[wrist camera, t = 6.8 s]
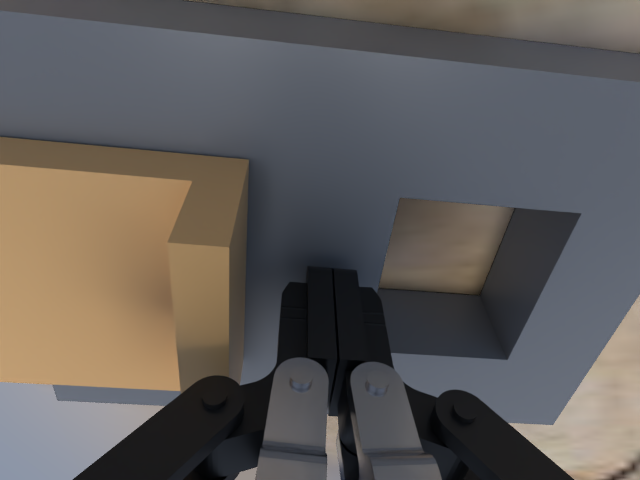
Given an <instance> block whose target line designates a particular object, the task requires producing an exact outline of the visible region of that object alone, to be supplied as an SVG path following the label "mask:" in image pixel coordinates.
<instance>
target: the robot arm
mask: <svg viewBox="0 0 640 480" xmlns="http://www.w3.org/2000/svg"><path fill="white" fill-rule="evenodd" d="M385 324H386V323H385V317H384V312H383V306H382V301H381V299H380V297H379V296H378V294H377V293H376V292H375V290H374V289H373V288H372V287H359V282H358V274H357V270H354V269H341V268H333V269H331V268H326V267H313V266H308V267H307V273H306V282H305V283H301V282H289V283H288V285H287V286H286V288H285V289H284V290H283V292H282V297H281V309H280V320H279V333H278V347H277V361H276V365H275V367H274V369H273V370H272V371H271V373H270V374H268V375H267V376H266V377H264V378H263V379H261V380H258V381H256V382H252V383H248V384H244V385H239V384H238V383H237V382H236V381H235V380H233V379H231V378H229V377H226V376H220V375H214V376H208V377H205V378H202V379H200V380H198V381H197V382H195V383H194V384H193V385H191V386H190V387H189V388H188V389H186V390H185V391H184V392H183V393H181V394H180V395H179V396H178V397H176V398H175V399H174V400H173V401H171V402H170V403H169V404H167V405H166V406H165V407H164V408H162V409H161V410H160V411H159V412H157V413H156V414H155V415H154V416H152V417H151V418H150V419H149V420H147V421H146V422H145V423H143V424H142V425H141V426H140V427H139V428H137V429H136V430H135V431H133V432H132V433H131V434H130V435H128V436H127V437H126V438H125V439H123V440H122V441H121V442H120V443H118V444H117V445H116V446H115V447H113V448H112V449H111V450H109V451H108V452H107V453H106V454H104V455H103V456H102V457H101V458H99V459H98V460H97V461H95V462H94V463H93V464H92V465H90V466H89V467H88V468H87V469H85V470H84V471H83V472H82V473H80V474H79V475H78V476H77V477H75V478H74V479H73V480H234V479H235V478H236V477H237V476H238V474H239V472H241V471H245V470H248V469H251V468H255V467H257V471H256V478H255V480H326V477H327V454H326V453H325V445H326V424H327V409H328V416H338V426H339V430H338V434H337V439H336V447H337V454H338V462H339V470H340V477H341V480H574V479H573V478H572V477H571V476H569V475H568V474H567V473H566V472H565V471H563V470H562V469H561V468H560V467H559V466H558V465H556V464H555V463H554V462H553V461H552V460H551V459H549V458H548V457H547V456H546V455H545V454H544V453H542V452H541V451H540V450H539V449H538V448H536V447H535V446H534V445H533V444H532V443H531V442H529V441H528V440H527V439H526V438H525V437H524V436H522V435H521V434H520V433H519V432H518V431H517V430H515V429H514V428H513V427H512V426H511V425H509V424H508V423H507V422H506V421H505V420H504V419H502V418H501V417H500V416H499V415H498V414H497V413H495V412H494V411H493V410H492V409H491V408H490V407H488V406H487V405H486V404H485V403H484V402H483V401H481V400H480V399H479V398H478V397H476V396H475V395H473V394H471V393H469V392H466V391H463V390H448V391H445V392H443V393H442V394H441V395H440V396H439V397H435V396H432V395H429V394H426V393H423V392H420V391H418V390H415V389H413V388H411V387H410V386H408V385H407V384H405V383H404V382H403V381H402V378H401V377H400V375H399V374H398V373H397V372H396V371H395V369H394V366H393V362H392V356H391V351H390V345H389V339H388V334H387V328H386V326H385Z"/></svg>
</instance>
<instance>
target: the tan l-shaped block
mask: <svg viewBox="0 0 640 480" xmlns="http://www.w3.org/2000/svg"><path fill="white" fill-rule="evenodd" d="M248 178H249V160H248V159H237V158H226V157H216V156H205V155H194V154H183V153H172V152H161V151H150V150H139V149H128V148H117V147H106V146H96V145H85V144H74V143H63V142H52V141H41V140H30V139H19V138H8V137H0V382H13V383H33V384H52V385H71V386H91V387H110V388H129V389H148V390H168V391H181V393H183V392H184V391H185V390H186V389H188V388H189V387H190V386H191V385H193V384H194V383H195V382H197V381H198V380H200V379H202V378H205V377H208V376H214V375H220V376H226V377H229V378H231V379H233V380H235V381H236V382H237V383H238V384H239V385H240V381H241V374H242V367H243V354H244V318H245V283H246V248H247V213H248Z"/></svg>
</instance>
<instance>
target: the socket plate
mask: <svg viewBox="0 0 640 480" xmlns="http://www.w3.org/2000/svg"><path fill="white" fill-rule="evenodd" d="M0 137H8V138H19V139H30V140H41V141H52V142H63V143H74V144H85V145H96V146H106V147H117V148H128V149H139V150H150V151H161V152H172V153H183V154H194V155H205V156H216V157H226V158H237V159H248V160H249V178H248V213H247V248H246V283H245V318H244V354H243V367H242V374H241V381H240V385H244V384H248V383H252V382H256V381H258V380H261V379H263V378H264V377H266V376H267V375H268V374H270V373H271V371H272V370H273V369H274V367H275V365H276V361H277V347H278V333H279V320H280V309H281V297H282V292H283V290H284V289H285V288H286V286H287V285H288V283H289V282H301V283H305V282H306V273H307V267H308V266H313V267H326V268H331V269H333V268H341V269H354V270H357V274H358V282H359V287H372V288H373V289H374V290H375V292H376V293H377V294H378V296H379V297H380V299H381V301H382V306H383V312H384V317H385V323H386V324H385V326H386V328H387V334H388V339H389V345H390V351H391V356H392V362H393V366H394V369H395V371H396V372H397V373H398V374H399V375H400V377H401V378H402V381H403V382H404V383H405V384H407V385H408V386H410V387H411V388H413V389H415V390H418V391H420V392H423V393H426V394H429V395H432V396H435V397H439V396H440V395H441V394H442V393H443V392H445V391H448V390H463V391H466V392H469V393H471V394H473V395H475V396H476V397H478V398H479V399H480V400H481V401H483V402H484V403H485V404H486V405H487V406H488V407H490V408H491V409H492V410H493V411H494V412H495V413H497V414H498V415H499V416H500V417H501V418H502V419H504V420H505V421H506V422H507V423H524V424H545V425H553V424H554V422H555V421H556V419H557V418H558V416H559V415H560V413H561V412H562V410H563V409H564V407H565V406H566V404H567V403H568V401H569V400H570V398H571V397H572V395H573V394H574V392H575V391H576V389H577V388H578V386H579V385H580V383H581V382H582V380H583V379H584V377H585V376H586V374H587V373H588V371H589V370H590V368H591V367H592V365H593V364H594V362H595V361H596V359H597V358H598V356H599V355H600V353H601V352H602V350H603V349H604V347H605V346H606V344H607V343H608V341H609V340H610V338H611V337H612V335H613V334H614V332H615V331H616V329H617V328H618V326H619V325H620V323H621V322H622V320H623V318H624V317H625V315H626V314H627V312H628V311H629V309H630V308H631V306H632V305H633V303H634V302H635V300H636V299H637V297H638V296H639V294H640V54H636V53H627V52H619V51H610V50H602V49H593V48H584V47H576V46H567V45H559V44H550V43H542V42H533V41H525V40H516V39H508V38H499V37H491V36H482V35H474V34H465V33H456V32H448V31H439V30H431V29H422V28H414V27H405V26H397V25H388V24H380V23H371V22H363V21H354V20H346V19H337V18H328V17H320V16H311V15H303V14H294V13H286V12H277V11H269V10H260V9H252V8H243V7H235V6H226V5H218V4H209V3H200V2H192V1H183V0H0ZM400 198H410V199H422V200H433V201H445V202H456V203H468V204H479V205H490V206H502V207H513V208H515V211H514V213H513V216H512V218H511V220H510V223H509V225H508V228H507V230H506V233H505V235H504V238H503V240H502V243H501V245H500V247H499V250H498V252H497V255H496V257H495V260H494V262H493V265H492V267H491V270H490V272H489V274H488V277H487V279H486V282H485V284H484V287H483V289H482V292H481V294H480V296H476V295H462V294H448V293H434V292H420V291H406V290H392V289H378V286H379V282H380V278H381V274H382V270H383V266H384V261H385V257H386V253H387V249H388V245H389V241H390V236H391V232H392V228H393V224H394V220H395V216H396V212H397V207H398V203H399V199H400ZM53 388H54V391H55V394H56V397H57V400H58V401H78V402H98V403H119V404H139V405H159V406H166V405H167V404H169V403H170V402H171V401H173V400H174V399H175V398H176V397H178V396H179V395H180V394H181V391H168V390H148V389H129V388H110V387H91V386H71V385H53ZM327 414H328V409H327Z"/></svg>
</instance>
